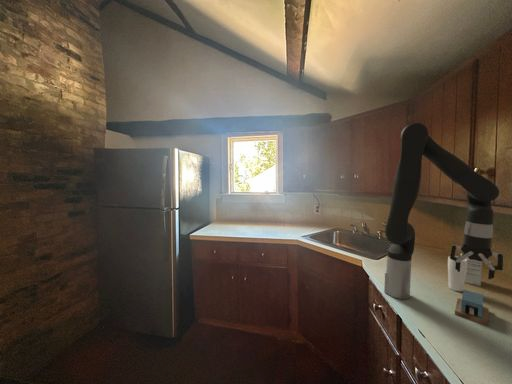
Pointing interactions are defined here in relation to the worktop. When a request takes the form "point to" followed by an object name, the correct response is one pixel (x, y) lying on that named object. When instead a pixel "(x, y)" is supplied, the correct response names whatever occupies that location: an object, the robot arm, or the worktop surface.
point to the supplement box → (473, 272)
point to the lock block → (472, 301)
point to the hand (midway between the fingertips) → (473, 274)
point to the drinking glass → (456, 275)
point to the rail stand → (472, 313)
